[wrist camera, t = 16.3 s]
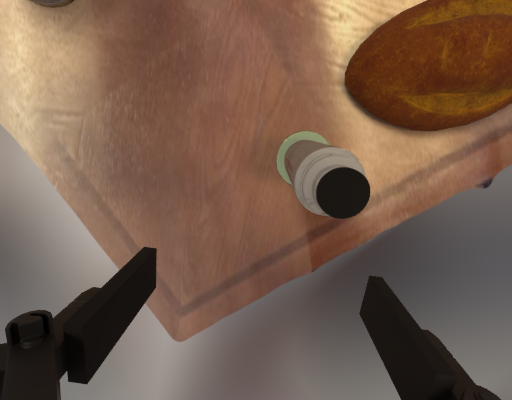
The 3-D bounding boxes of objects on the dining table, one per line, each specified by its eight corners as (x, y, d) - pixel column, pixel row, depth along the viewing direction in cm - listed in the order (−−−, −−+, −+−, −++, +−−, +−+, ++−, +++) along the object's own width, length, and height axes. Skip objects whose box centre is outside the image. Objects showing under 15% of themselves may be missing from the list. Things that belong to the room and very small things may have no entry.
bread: (345, 5, 45) (373, -40, 33) (548, -4, 43) (655, -56, 31) (338, 132, 50) (359, 133, 38) (518, 129, 48) (599, 128, 37)
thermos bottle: (286, 183, 53) (304, 239, 26) (281, 142, 51) (295, 158, 24) (326, 177, 52) (388, 230, 25) (323, 136, 50) (386, 144, 23)
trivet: (281, 127, 51) (281, 127, 50) (337, 135, 50) (338, 135, 50) (272, 182, 53) (272, 183, 53) (325, 190, 53) (326, 191, 53)
